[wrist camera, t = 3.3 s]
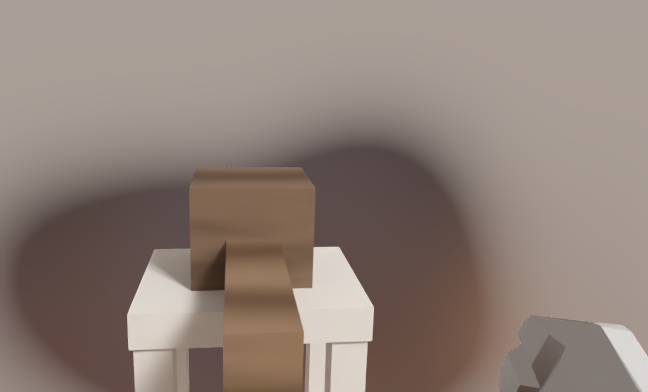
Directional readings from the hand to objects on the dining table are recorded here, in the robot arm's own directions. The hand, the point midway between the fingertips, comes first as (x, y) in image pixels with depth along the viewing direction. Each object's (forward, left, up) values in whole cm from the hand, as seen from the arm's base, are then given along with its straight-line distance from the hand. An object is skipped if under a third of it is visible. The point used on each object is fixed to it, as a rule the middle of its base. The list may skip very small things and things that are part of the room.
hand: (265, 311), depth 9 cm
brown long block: (+15, -16, -9) cm, 23 cm away
